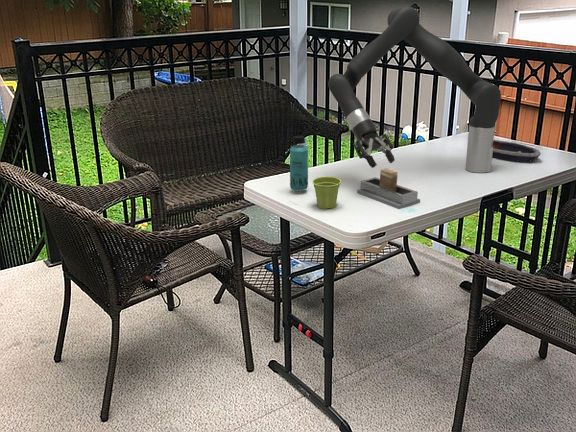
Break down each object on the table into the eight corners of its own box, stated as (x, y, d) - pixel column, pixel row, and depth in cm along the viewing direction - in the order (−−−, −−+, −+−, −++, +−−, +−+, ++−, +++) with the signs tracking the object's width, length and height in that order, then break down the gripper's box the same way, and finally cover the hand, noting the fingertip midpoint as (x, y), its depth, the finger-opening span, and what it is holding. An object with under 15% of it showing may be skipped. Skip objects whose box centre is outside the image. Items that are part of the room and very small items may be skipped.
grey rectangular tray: (377, 186, 213) (378, 176, 212) (420, 202, 198) (420, 190, 197) (357, 192, 208) (357, 182, 207) (398, 209, 193) (399, 197, 191)
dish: (526, 167, 232) (528, 155, 230) (461, 151, 255) (462, 140, 253) (547, 160, 241) (549, 148, 239) (482, 145, 264) (483, 134, 262)
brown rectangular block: (385, 191, 206) (386, 168, 202) (396, 195, 202) (397, 171, 199) (379, 193, 204) (380, 169, 201) (389, 197, 200) (391, 173, 197)
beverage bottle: (289, 189, 213) (288, 134, 206) (307, 188, 214) (307, 133, 206) (290, 195, 207) (289, 139, 200) (309, 194, 208) (309, 138, 200)
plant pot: (332, 213, 191) (332, 187, 188) (307, 207, 195) (306, 182, 192) (345, 204, 198) (346, 179, 195) (320, 199, 203) (321, 175, 200)
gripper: (351, 121, 198) (374, 162, 194) (381, 115, 206) (404, 154, 202) (340, 134, 204) (362, 174, 200) (370, 127, 212) (392, 166, 208)
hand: (383, 164), depth 201 cm, fingers open, 8 cm apart
